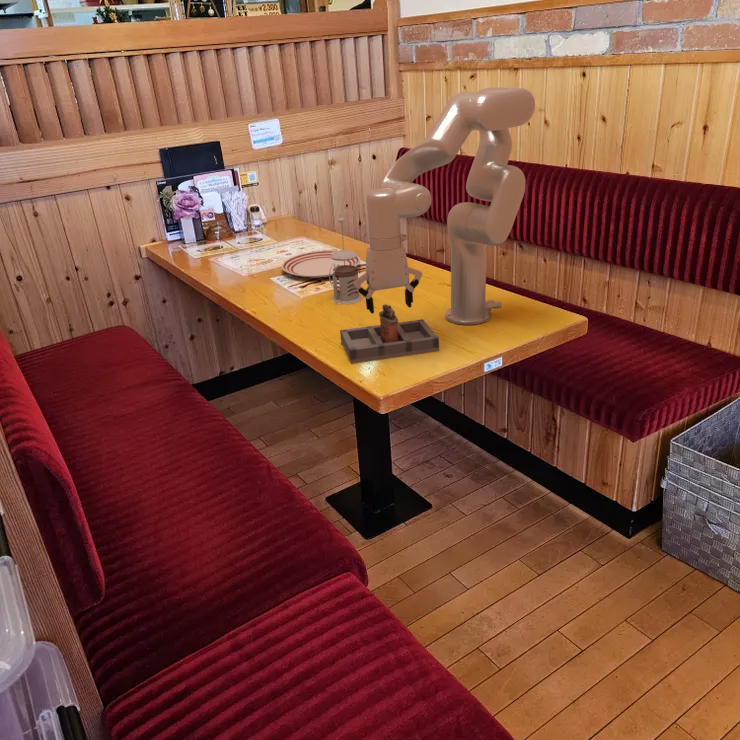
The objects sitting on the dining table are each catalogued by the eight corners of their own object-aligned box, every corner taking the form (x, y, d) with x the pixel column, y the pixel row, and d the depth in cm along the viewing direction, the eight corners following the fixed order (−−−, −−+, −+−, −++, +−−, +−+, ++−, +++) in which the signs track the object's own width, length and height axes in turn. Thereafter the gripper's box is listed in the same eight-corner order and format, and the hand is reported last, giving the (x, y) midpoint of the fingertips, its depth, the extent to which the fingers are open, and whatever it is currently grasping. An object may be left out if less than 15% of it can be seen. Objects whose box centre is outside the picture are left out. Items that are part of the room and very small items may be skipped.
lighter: (377, 338, 174) (375, 302, 170) (389, 336, 175) (388, 300, 171) (389, 350, 168) (387, 313, 163) (401, 347, 169) (400, 310, 164)
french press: (369, 296, 207) (364, 215, 196) (346, 308, 198) (341, 224, 187) (343, 291, 212) (338, 212, 201) (320, 303, 204) (313, 221, 193)
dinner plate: (325, 288, 217) (325, 278, 215) (265, 275, 232) (264, 266, 231) (376, 265, 236) (376, 256, 235) (318, 255, 251) (317, 246, 250)
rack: (423, 331, 180) (423, 319, 178) (438, 351, 168) (438, 338, 167) (341, 342, 176) (340, 330, 174) (351, 363, 164) (350, 350, 163)
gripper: (415, 233, 165) (418, 298, 173) (347, 243, 162) (353, 308, 170) (424, 241, 158) (427, 308, 166) (353, 251, 156) (359, 319, 163)
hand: (390, 308), depth 168 cm, fingers open, 9 cm apart
